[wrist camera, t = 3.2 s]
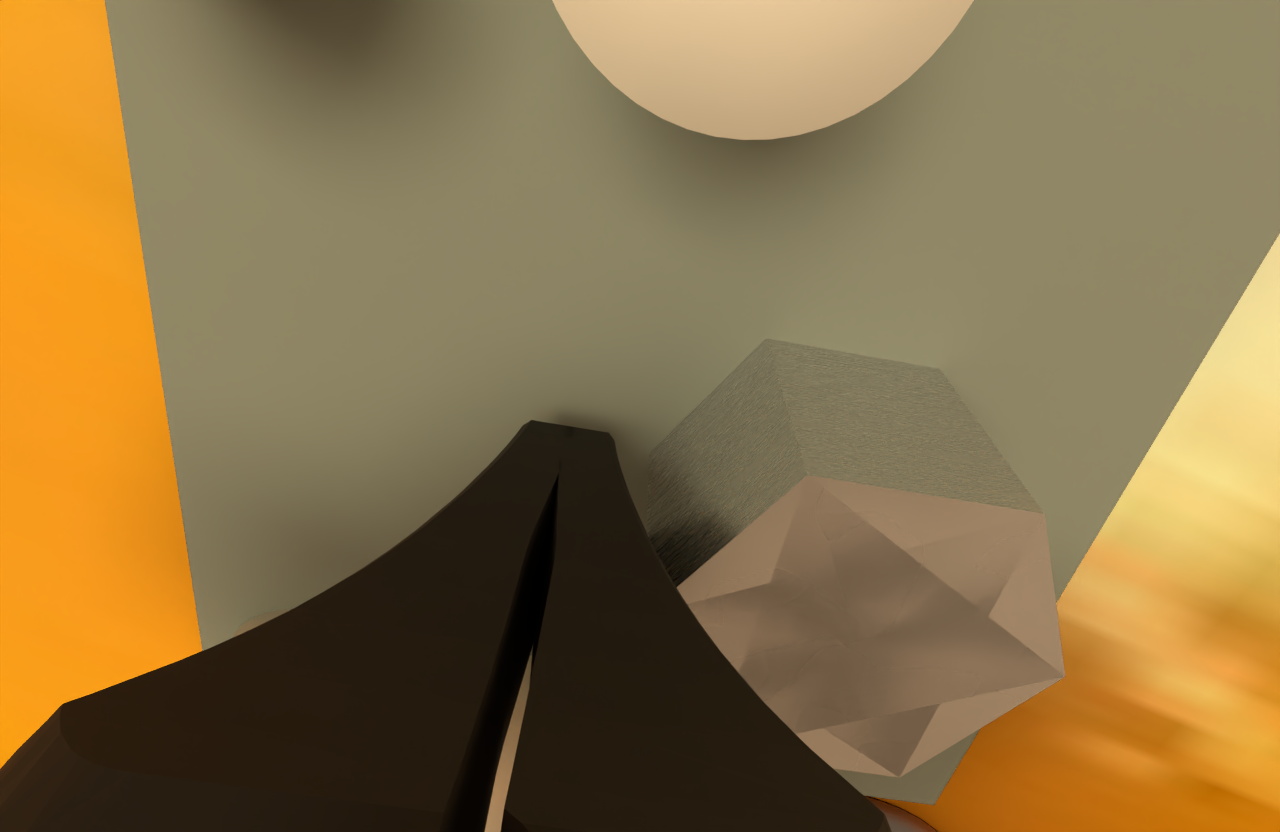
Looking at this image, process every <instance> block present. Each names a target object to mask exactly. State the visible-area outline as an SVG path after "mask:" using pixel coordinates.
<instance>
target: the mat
mask: <svg viewBox="0 0 1280 832" xmlns="http://www.w3.org/2000/svg"><path fill="white" fill-rule="evenodd" d="M105 4H106V11H107V18H108V24H109V31H110V38H111V44H112V51H113V58H114V64H115V71H116V78H117V84H118V91H119V98H120V104H121V111H122V118H123V124H124V131H125V138H126V144H127V151H128V158H129V164H130V171H131V178H132V184H133V191H134V198H135V204H136V211H137V218H138V224H139V231H140V238H141V244H142V251H143V258H144V264H145V271H146V278H147V284H148V291H149V298H150V304H151V311H152V318H153V324H154V331H155V337H156V344H157V351H158V357H159V364H160V371H161V377H162V384H163V391H164V397H165V404H166V411H167V417H168V424H169V431H170V437H171V444H172V451H173V457H174V464H175V471H176V477H177V484H178V491H179V497H180V504H181V511H182V517H183V524H184V531H185V537H186V544H187V551H188V557H189V564H190V571H191V577H192V584H193V591H194V597H195V604H196V611H197V617H198V624H199V631H200V637H201V644H202V651H204V650H206V649H209V648H211V647H213V646H215V645H217V644H220V643H222V642H224V641H226V640H229V639H231V638H232V637H233V635H234V634H235V632H236V631H237V630H238V628H239V627H240V626H241V625H242V624H244V623H245V622H246V621H248V620H249V619H251V618H253V617H255V616H257V615H260V614H263V613H266V612H271V611H276V610H292V609H293V608H295V607H297V606H299V605H301V604H303V603H304V602H306V601H308V600H310V599H311V598H313V597H315V596H317V595H318V594H320V593H322V592H324V591H325V590H327V589H329V588H330V587H332V586H334V585H335V584H337V583H339V582H340V581H342V580H344V579H345V578H347V577H349V576H350V575H352V574H354V573H355V572H357V571H359V570H360V569H362V568H363V567H365V566H366V565H368V564H369V563H371V562H372V561H374V560H375V559H377V558H378V557H379V556H381V555H382V554H384V553H385V552H387V551H388V550H390V549H391V548H392V547H394V546H395V545H397V544H398V543H399V542H401V541H402V540H403V539H405V538H406V537H407V536H409V535H410V534H411V533H413V532H414V531H415V530H417V529H418V528H419V527H420V526H422V525H423V524H424V523H425V522H426V521H428V520H429V519H430V518H431V517H432V516H434V515H435V514H436V513H437V512H438V511H439V510H441V509H442V508H443V507H444V506H445V505H447V504H448V503H449V502H450V501H451V500H453V499H454V498H455V497H456V496H457V495H458V494H459V493H460V492H461V491H463V490H464V489H465V488H466V487H467V486H468V485H469V484H470V483H471V482H472V481H473V480H474V479H475V478H476V477H477V476H478V475H479V474H480V473H481V472H482V471H483V470H484V469H485V468H486V467H487V466H488V465H489V464H490V463H491V462H492V461H493V460H494V459H495V458H496V457H497V456H498V455H499V453H500V452H501V451H502V450H503V449H504V448H505V447H506V446H507V445H508V443H509V442H510V441H511V440H512V439H513V437H514V436H515V435H516V434H517V432H518V431H519V430H520V428H521V427H522V426H523V425H524V424H526V423H527V422H529V421H530V420H535V421H541V422H547V423H553V424H559V425H565V426H571V427H577V428H583V429H590V430H596V431H602V432H608V433H609V434H610V435H611V436H612V438H613V439H614V441H615V446H616V451H617V456H618V460H619V463H620V467H621V470H622V473H623V476H624V479H625V482H626V485H627V488H628V490H629V493H630V495H631V498H632V500H633V503H634V505H635V507H636V510H637V512H638V514H639V516H640V519H641V521H642V523H643V526H644V528H645V530H646V532H647V514H648V470H649V453H650V452H651V451H652V450H653V449H654V448H655V447H656V446H657V445H658V444H659V443H660V442H661V441H662V440H663V439H664V438H665V437H666V436H667V435H668V434H669V433H670V432H671V431H673V430H674V429H675V428H676V427H677V426H678V425H679V424H680V423H681V422H682V421H683V420H684V419H685V418H686V417H687V416H688V415H689V414H690V413H691V412H692V411H693V410H694V409H695V408H696V407H697V406H698V405H699V404H700V403H701V402H702V401H703V400H704V399H705V398H706V397H707V396H708V395H709V394H710V393H711V392H712V391H713V390H714V389H715V388H716V387H717V386H718V385H719V384H720V383H721V382H722V381H723V380H724V379H725V378H726V377H727V376H728V375H729V374H730V373H731V372H732V371H734V370H735V369H736V368H737V367H738V366H739V365H740V364H741V363H742V362H743V361H744V360H745V359H746V358H747V357H748V356H749V355H750V354H751V353H752V352H753V351H754V350H755V349H756V348H757V347H758V346H759V345H760V344H761V343H762V342H763V341H764V340H765V339H766V338H768V339H773V340H779V341H785V342H790V343H796V344H802V345H807V346H813V347H819V348H825V349H830V350H836V351H842V352H847V353H853V354H859V355H864V356H870V357H876V358H881V359H887V360H893V361H898V362H904V363H910V364H915V365H921V366H927V367H932V368H938V369H940V370H941V371H942V373H943V374H944V375H945V377H946V378H947V380H948V381H949V382H950V384H951V385H952V387H953V388H954V389H955V391H956V392H957V393H958V395H959V396H960V398H961V399H962V400H963V402H964V403H965V404H966V406H967V407H968V409H969V410H970V411H971V413H972V414H973V416H974V417H975V418H976V420H977V421H978V422H979V424H980V425H981V427H982V428H983V429H984V431H985V432H986V433H987V435H988V436H989V438H990V439H991V440H992V442H993V443H994V445H995V446H996V447H997V449H998V450H999V451H1000V453H1001V454H1002V456H1003V457H1004V458H1005V460H1006V461H1007V462H1008V464H1009V465H1010V467H1011V468H1012V469H1013V471H1014V472H1015V474H1016V475H1017V476H1018V478H1019V479H1020V480H1021V482H1022V483H1023V485H1024V486H1025V487H1026V489H1027V490H1028V491H1029V493H1030V494H1031V496H1032V497H1033V498H1034V500H1035V501H1036V503H1037V504H1038V505H1039V507H1040V508H1041V509H1042V511H1043V512H1044V514H1045V520H1046V528H1047V536H1048V544H1049V552H1050V559H1051V567H1052V575H1053V583H1054V591H1055V599H1056V602H1057V601H1058V599H1059V597H1060V596H1061V594H1062V592H1063V591H1064V589H1065V588H1066V586H1067V584H1068V583H1069V581H1070V579H1071V578H1072V576H1073V574H1074V573H1075V571H1076V569H1077V568H1078V566H1079V564H1080V563H1081V561H1082V559H1083V558H1084V556H1085V554H1086V553H1087V551H1088V549H1089V548H1090V546H1091V545H1092V543H1093V541H1094V540H1095V538H1096V536H1097V535H1098V533H1099V531H1100V530H1101V528H1102V526H1103V525H1104V523H1105V521H1106V520H1107V518H1108V516H1109V515H1110V513H1111V511H1112V510H1113V508H1114V506H1115V505H1116V503H1117V501H1118V500H1119V498H1120V497H1121V495H1122V493H1123V492H1124V490H1125V488H1126V487H1127V485H1128V483H1129V482H1130V480H1131V478H1132V477H1133V475H1134V473H1135V472H1136V470H1137V468H1138V467H1139V465H1140V463H1141V462H1142V460H1143V458H1144V457H1145V455H1146V454H1147V452H1148V450H1149V449H1150V447H1151V445H1152V444H1153V442H1154V440H1155V439H1156V437H1157V435H1158V434H1159V432H1160V430H1161V429H1162V427H1163V425H1164V424H1165V422H1166V420H1167V419H1168V417H1169V415H1170V414H1171V412H1172V410H1173V409H1174V407H1175V406H1176V404H1177V402H1178V401H1179V399H1180V397H1181V396H1182V394H1183V392H1184V391H1185V389H1186V387H1187V386H1188V384H1189V382H1190V381H1191V379H1192V377H1193V376H1194V374H1195V372H1196V371H1197V369H1198V367H1199V366H1200V364H1201V363H1202V361H1203V359H1204V358H1205V356H1206V354H1207V353H1208V351H1209V349H1210V348H1211V346H1212V344H1213V343H1214V341H1215V339H1216V338H1217V336H1218V334H1219V333H1220V331H1221V329H1222V328H1223V326H1224V324H1225V323H1226V321H1227V319H1228V318H1229V316H1230V315H1231V313H1232V311H1233V310H1234V308H1235V306H1236V305H1237V303H1238V301H1239V300H1240V298H1241V296H1242V295H1243V293H1244V291H1245V290H1246V288H1247V286H1248V285H1249V283H1250V281H1251V280H1252V278H1253V276H1254V275H1255V273H1256V272H1257V270H1258V268H1259V267H1260V265H1261V263H1262V262H1263V260H1264V258H1265V257H1266V255H1267V253H1268V252H1269V250H1270V248H1271V247H1272V245H1273V243H1274V242H1275V240H1276V238H1277V237H1278V235H1279V233H1280V0H974V1H973V2H972V4H971V5H970V7H969V8H968V10H967V11H966V13H965V14H964V16H963V17H962V19H961V20H960V22H959V23H958V25H957V26H956V28H955V29H954V30H953V32H952V33H951V34H950V35H949V36H948V37H947V39H946V40H945V41H944V42H943V43H942V45H941V46H940V47H939V48H938V49H937V50H936V52H935V53H934V54H933V55H932V56H931V57H930V58H929V59H928V60H927V61H926V62H925V63H924V64H923V65H922V66H921V67H920V68H919V69H918V70H917V71H916V72H915V73H914V74H913V75H911V76H910V77H909V78H908V79H907V80H906V81H905V82H903V83H902V84H901V85H899V86H898V87H897V88H895V89H894V90H893V91H891V92H890V93H889V94H887V95H886V96H885V97H884V98H882V99H881V100H879V101H877V102H876V103H874V104H872V105H871V106H869V107H867V108H865V109H864V110H862V111H860V112H859V113H857V114H855V115H853V116H851V117H849V118H846V119H844V120H842V121H839V122H837V123H835V124H832V125H830V126H828V127H825V128H822V129H818V130H815V131H811V132H808V133H804V134H801V135H796V136H790V137H783V138H777V139H769V140H739V139H730V138H722V137H714V136H711V135H707V134H703V133H699V132H696V131H692V130H688V129H685V128H683V127H681V126H678V125H676V124H674V123H671V122H669V121H666V120H664V119H662V118H660V117H658V116H657V115H655V114H653V113H652V112H650V111H648V110H646V109H645V108H643V107H641V106H640V105H638V104H636V103H635V102H634V101H633V100H631V99H630V98H629V97H628V96H626V95H625V94H624V93H623V92H621V91H620V90H619V89H617V88H616V87H615V86H614V85H613V84H612V83H611V82H610V81H609V80H608V79H607V78H606V77H605V76H604V75H603V74H602V73H601V72H600V71H599V70H598V69H597V68H596V67H595V66H594V65H593V64H592V63H591V61H590V60H589V59H588V57H587V56H586V55H585V53H584V52H583V51H582V49H581V48H580V47H579V45H578V44H577V43H576V41H575V40H574V39H573V37H572V36H571V34H570V32H569V30H568V29H567V27H566V25H565V23H564V22H563V20H562V18H561V17H560V15H559V13H558V11H557V10H556V7H555V5H554V3H553V1H552V0H105ZM532 650H533V646H532ZM532 650H531V653H530V655H532ZM979 730H980V729H979ZM979 730H977V731H975V732H974V733H972V734H970V735H969V736H967V737H965V738H964V739H962V740H960V741H959V742H957V743H955V744H954V745H952V746H951V747H949V748H947V749H946V750H944V751H942V752H941V753H939V754H937V755H936V756H934V757H932V758H931V759H929V760H927V761H926V762H924V763H923V764H921V765H919V766H918V767H916V768H914V769H913V770H911V771H909V772H908V773H906V774H904V775H903V776H901V777H900V778H899V777H892V776H884V775H877V774H870V773H862V772H855V771H848V770H840V769H834V770H835V771H836V772H837V773H839V774H840V775H841V776H842V777H843V778H844V779H845V780H847V781H848V782H849V783H850V784H851V785H852V786H853V787H854V788H856V789H857V790H858V791H859V792H860V793H861V794H862V795H864V796H871V797H878V798H886V799H893V800H900V801H907V802H915V803H922V804H929V805H934V804H935V803H936V801H937V799H938V798H939V796H940V794H941V793H942V791H943V789H944V788H945V786H946V784H947V783H948V781H949V779H950V778H951V776H952V775H953V773H954V771H955V770H956V768H957V766H958V765H959V763H960V761H961V760H962V758H963V756H964V755H965V753H966V751H967V750H968V748H969V746H970V745H971V743H972V741H973V740H974V738H975V736H976V735H977V733H978V731H979Z"/></svg>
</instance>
